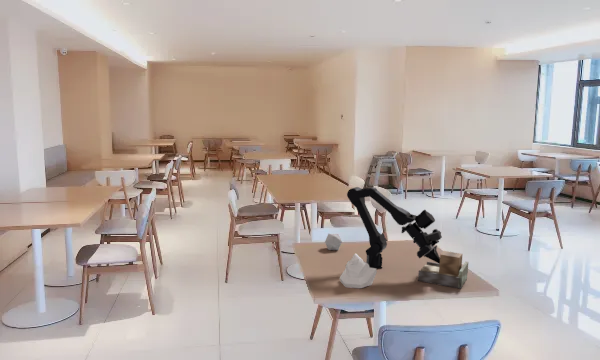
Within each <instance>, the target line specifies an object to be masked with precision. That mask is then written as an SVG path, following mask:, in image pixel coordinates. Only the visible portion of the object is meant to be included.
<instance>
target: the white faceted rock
mask: <svg viewBox="0 0 600 360" xmlns="http://www.w3.org/2000/svg"><path fill="white" fill-rule="evenodd" d="M377 270H378V268H370V267H369V264H367V263H366V261H364V259H363V258H361V257H360V256H359V255H358V253H354V254H352V256H351V259H350V260H348V261H347V263H346V264H345V269H344V270H343V271H342V273H341V274H340V276H339V281H340V283H341V284H342V285H343V286H344V287H345V288H350V289H363V288H366V287H368V286H369V287H370V286H372V285H373V282H374V280H375V278H376V275H377V272H378V271H377Z"/></svg>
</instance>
